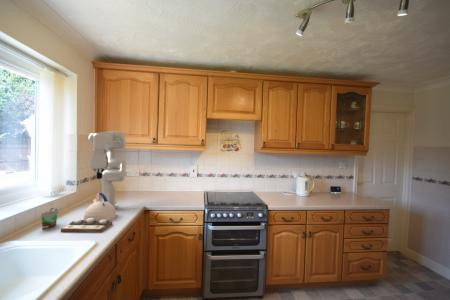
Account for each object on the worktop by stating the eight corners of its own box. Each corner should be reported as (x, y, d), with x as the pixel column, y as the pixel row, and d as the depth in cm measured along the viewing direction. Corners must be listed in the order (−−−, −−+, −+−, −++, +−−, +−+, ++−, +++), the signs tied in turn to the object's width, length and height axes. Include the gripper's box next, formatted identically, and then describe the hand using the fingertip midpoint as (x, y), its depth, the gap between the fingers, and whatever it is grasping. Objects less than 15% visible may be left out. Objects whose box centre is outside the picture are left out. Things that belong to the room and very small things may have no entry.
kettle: (108, 211, 169) (109, 188, 168) (121, 217, 156) (121, 192, 155) (79, 217, 153) (79, 192, 153) (89, 225, 140) (90, 197, 140)
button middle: (89, 220, 139) (89, 217, 139) (95, 220, 139) (95, 217, 139) (85, 222, 135) (85, 219, 135) (91, 222, 135) (91, 220, 135)
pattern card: (68, 225, 133) (68, 224, 133) (104, 225, 134) (104, 225, 134) (62, 228, 128) (62, 227, 128) (99, 229, 129) (99, 228, 129)
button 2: (101, 221, 140) (101, 219, 140) (107, 221, 140) (107, 219, 140) (98, 224, 136) (98, 221, 136) (104, 224, 136) (104, 221, 136)
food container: (53, 229, 132) (53, 213, 132) (41, 230, 130) (41, 213, 130) (61, 222, 144) (62, 207, 144) (50, 223, 142) (51, 208, 142)
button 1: (76, 221, 139) (76, 219, 139) (82, 221, 139) (82, 219, 139) (72, 223, 135) (72, 221, 135) (78, 223, 135) (78, 221, 135)
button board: (75, 223, 141) (75, 219, 141) (112, 224, 142) (112, 219, 142) (60, 231, 128) (60, 226, 128) (101, 232, 129) (101, 227, 129)
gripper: (113, 151, 150) (113, 178, 151) (91, 151, 150) (91, 177, 150) (107, 152, 143) (107, 179, 143) (85, 151, 143) (84, 179, 143)
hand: (99, 178), depth 147 cm, fingers closed
